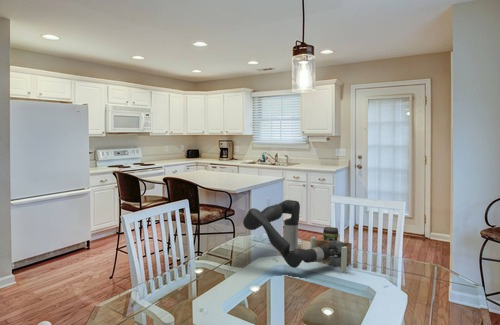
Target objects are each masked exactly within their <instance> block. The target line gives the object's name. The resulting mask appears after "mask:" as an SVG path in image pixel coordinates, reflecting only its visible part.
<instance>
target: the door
mask: <svg viewBox="0 0 500 325" xmlns="http://www.w3.org/2000/svg"><path fill="white" fill-rule="evenodd" d="M342 242H343V247H347V265H349V264H350V265H351V264H352V242H346V241H345V242H344V241H342ZM321 246H326V247H330V241H325V240H324V239H323V240H322V239H316V240H315V247H321ZM329 260H330V257H329V258H328V259H327V260H323V262H329Z"/></svg>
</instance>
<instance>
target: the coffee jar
mask: <svg viewBox="0 0 500 325" xmlns="http://www.w3.org/2000/svg"><path fill="white" fill-rule="evenodd" d="M322 232H323V233H322V234H323V240H325V241H334V240H337V241H338V237H339V229H338V227H332V226H324V228H323V231H322Z"/></svg>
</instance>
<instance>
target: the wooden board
mask: <svg viewBox="0 0 500 325" xmlns="http://www.w3.org/2000/svg"><path fill="white" fill-rule="evenodd" d="M315 240H317V238H316V236H312V237H310V248H309V249H312V248H315ZM347 265H348V263H347V247H342V251H341V266H340V273H341V274H345V273H347V270H348V268H347Z"/></svg>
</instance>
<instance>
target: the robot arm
mask: <svg viewBox="0 0 500 325" xmlns="http://www.w3.org/2000/svg"><path fill="white" fill-rule="evenodd" d="M300 210H301V204H300V202H299V201H298V200H291V199H286V200H283V201H281V202H280V203H275V204H272V205H269V206H266V207H265V208H264V209H263V210H261V211H260V210H259V209H257V208H254V207H253V208H250V209H249V210H248V212H247V213H246V215H245V217H244V218H243V220H242V224H243V226H244V228H246V229H247V230H249V231H255V230H257V229H258V228H260V227H262V228H264V231H265V234H266V235H267V238H268V241H269V242H270V245H272V247H274V249H276V250H277V251H278V252H279V253H280V255H281V256H282V258H283V260H284V261H285V262H286V264H287V265H288V266H289V267H291V268H295V269H296V268H298V267H299V266H300V264H301V263H302V262H304V263H306V264H309V263H315V262H322V261H323V260H327V259H328V258H329V257H332V256H334V258H340V257H341V251H337V250H332V249H330V247H326V246H321V247H315V248H312V249H310V248H307V249H305V248H300V247H298V243H299V222H300V213H301V211H300ZM283 214H286V215H287V214H289V215H290V218H286V219H284V221H283V222H284V224H283V226H284V227H283V229H284V230H283V235H281V234H280V233H279V232H278V231H277V230H276V229H275V227H274V226H273V225H272V223H271V222H275V221H277V220H279V219H280V218H282V216H283ZM290 251H292V252H290ZM334 251H335V253H334ZM337 252H339V253H337ZM323 262H324V261H323Z"/></svg>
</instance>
